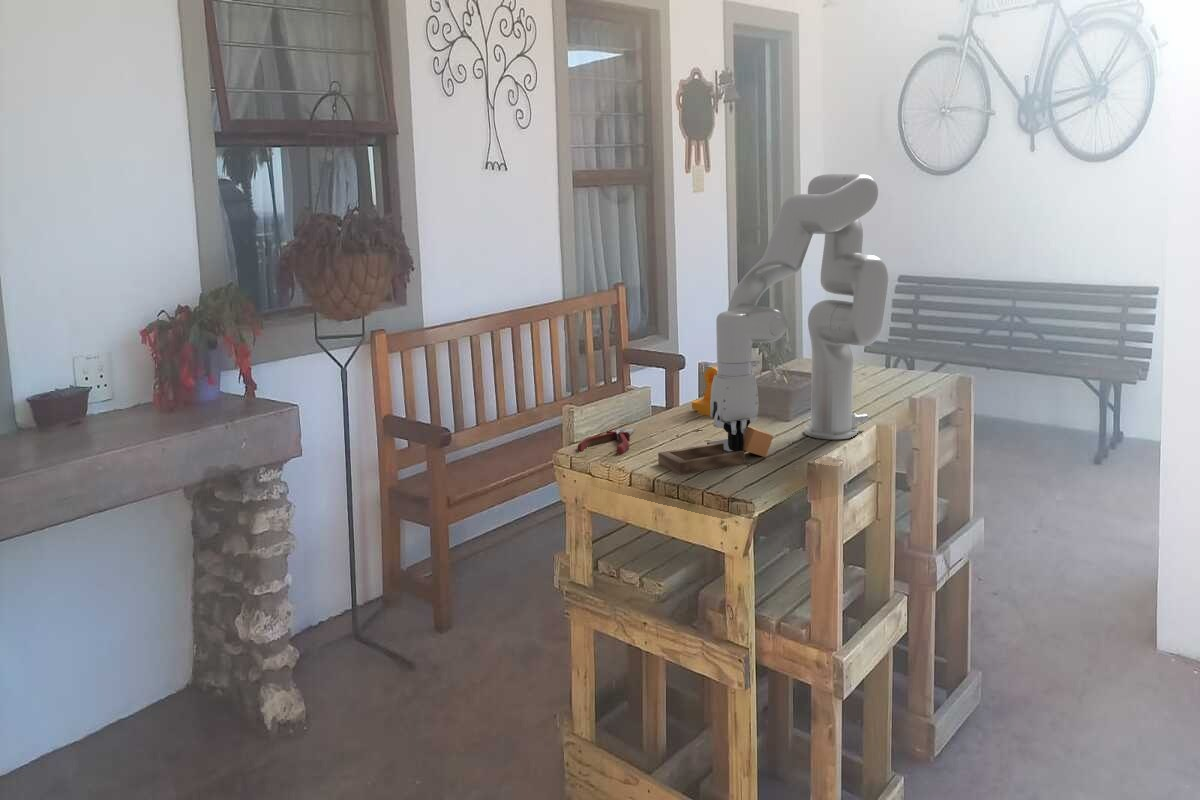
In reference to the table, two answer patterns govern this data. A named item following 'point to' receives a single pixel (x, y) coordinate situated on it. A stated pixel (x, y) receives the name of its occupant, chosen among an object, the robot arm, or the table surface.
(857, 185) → the robot arm
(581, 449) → the pliers
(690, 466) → the brown wooden tray
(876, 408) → the table surface
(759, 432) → the orange block
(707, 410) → the bracket
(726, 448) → the rubber mat
